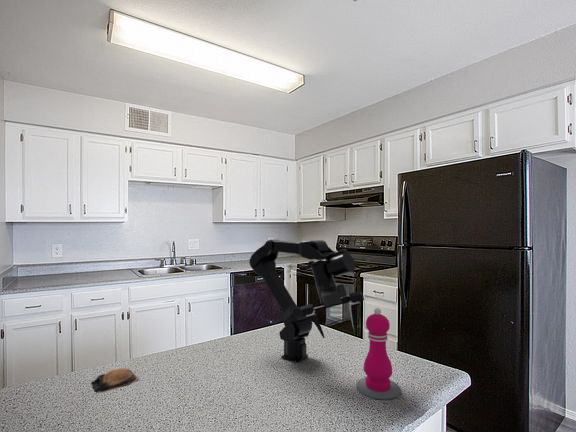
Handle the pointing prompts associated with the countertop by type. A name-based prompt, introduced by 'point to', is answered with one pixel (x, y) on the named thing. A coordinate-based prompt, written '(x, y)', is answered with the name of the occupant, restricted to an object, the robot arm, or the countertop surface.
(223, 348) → the countertop surface
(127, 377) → the brown oval lump
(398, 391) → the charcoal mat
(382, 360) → the pepper mill
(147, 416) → the countertop surface
